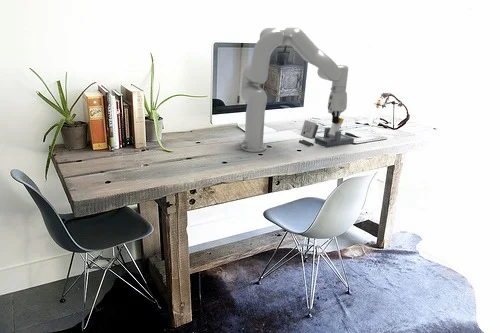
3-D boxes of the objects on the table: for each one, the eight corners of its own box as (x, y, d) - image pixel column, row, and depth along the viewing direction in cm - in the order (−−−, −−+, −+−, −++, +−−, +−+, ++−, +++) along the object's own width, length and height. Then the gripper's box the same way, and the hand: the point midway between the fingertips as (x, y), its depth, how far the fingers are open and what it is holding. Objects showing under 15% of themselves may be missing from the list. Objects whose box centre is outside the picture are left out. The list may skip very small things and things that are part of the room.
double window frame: (326, 147, 206) (328, 133, 203) (314, 142, 214) (315, 129, 211) (353, 143, 216) (355, 129, 213) (340, 139, 224) (342, 125, 221)
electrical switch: (300, 135, 228) (302, 119, 226) (306, 135, 231) (309, 119, 229) (311, 139, 221) (313, 123, 219) (317, 138, 224) (320, 123, 222)
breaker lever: (334, 138, 210) (342, 118, 208) (326, 135, 215) (334, 116, 213) (336, 139, 211) (344, 119, 209) (328, 136, 216) (336, 117, 214)
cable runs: (309, 146, 206) (309, 144, 206) (298, 142, 214) (298, 139, 213) (314, 146, 208) (314, 143, 208) (303, 141, 216) (303, 139, 215)
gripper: (333, 91, 197) (329, 126, 204) (353, 89, 205) (349, 123, 211) (323, 89, 203) (319, 122, 210) (343, 87, 211) (340, 120, 217)
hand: (334, 122), depth 210 cm, fingers closed
